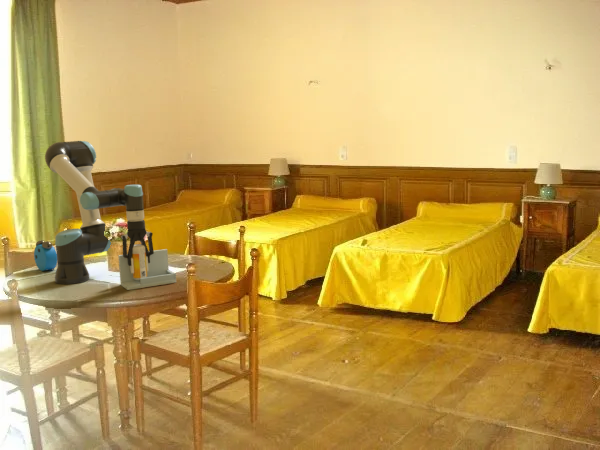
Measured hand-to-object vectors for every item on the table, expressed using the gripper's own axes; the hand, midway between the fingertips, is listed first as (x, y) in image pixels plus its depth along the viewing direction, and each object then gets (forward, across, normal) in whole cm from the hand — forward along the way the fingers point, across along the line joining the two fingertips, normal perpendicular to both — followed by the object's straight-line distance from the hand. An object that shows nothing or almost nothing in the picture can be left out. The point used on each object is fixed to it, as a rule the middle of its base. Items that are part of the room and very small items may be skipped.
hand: (139, 271), depth 294 cm
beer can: (+3, 0, 0) cm, 3 cm away
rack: (+6, +4, 0) cm, 7 cm away
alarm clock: (+6, -30, +60) cm, 68 cm away
